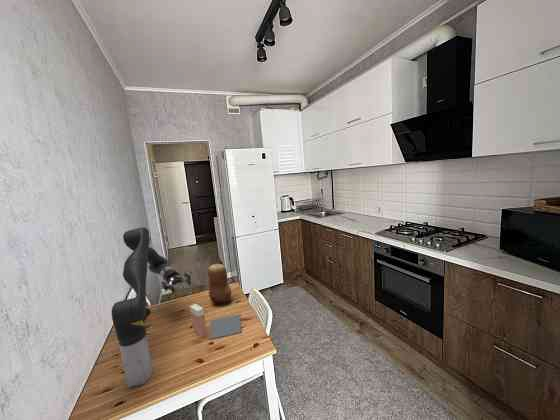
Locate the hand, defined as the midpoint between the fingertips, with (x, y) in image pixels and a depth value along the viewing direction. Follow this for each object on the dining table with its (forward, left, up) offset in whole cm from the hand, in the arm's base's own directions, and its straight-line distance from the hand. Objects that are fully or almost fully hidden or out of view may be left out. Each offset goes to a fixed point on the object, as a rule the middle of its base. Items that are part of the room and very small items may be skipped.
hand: (182, 286), depth 122 cm
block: (-9, -7, -22) cm, 25 cm away
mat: (-9, -20, -22) cm, 31 cm away
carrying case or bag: (+18, +31, -23) cm, 42 cm away
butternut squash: (+18, -17, -22) cm, 33 cm away
